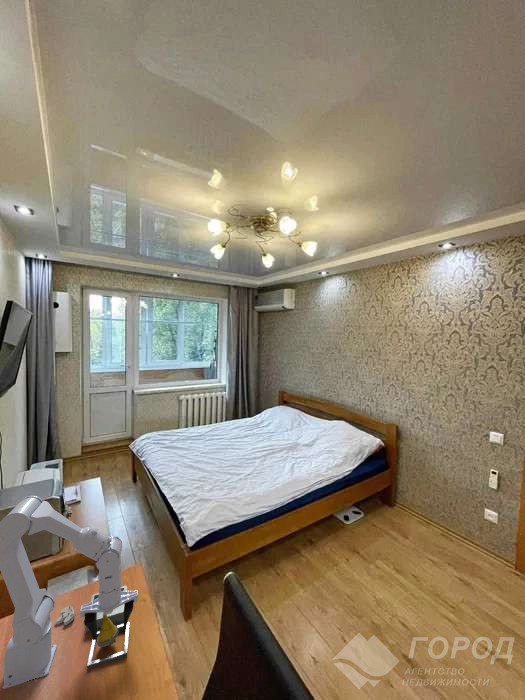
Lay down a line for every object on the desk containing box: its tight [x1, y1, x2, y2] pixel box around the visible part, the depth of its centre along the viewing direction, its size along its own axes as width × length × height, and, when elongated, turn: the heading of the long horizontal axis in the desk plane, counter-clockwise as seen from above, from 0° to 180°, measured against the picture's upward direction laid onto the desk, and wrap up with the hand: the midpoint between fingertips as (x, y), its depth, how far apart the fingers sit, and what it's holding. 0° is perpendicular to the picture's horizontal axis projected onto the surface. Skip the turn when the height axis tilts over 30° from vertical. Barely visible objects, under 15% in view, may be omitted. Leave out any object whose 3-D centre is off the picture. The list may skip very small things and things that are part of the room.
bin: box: [84, 584, 128, 634], centre depth 93 cm, size 11×11×4 cm
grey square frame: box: [86, 621, 130, 671], centre depth 83 cm, size 10×10×2 cm
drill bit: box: [96, 613, 119, 648], centre depth 83 cm, size 5×5×10 cm
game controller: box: [55, 605, 82, 626], centre depth 94 cm, size 6×12×3 cm, turn 155°
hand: (110, 631), depth 83 cm, fingers open, 7 cm apart
